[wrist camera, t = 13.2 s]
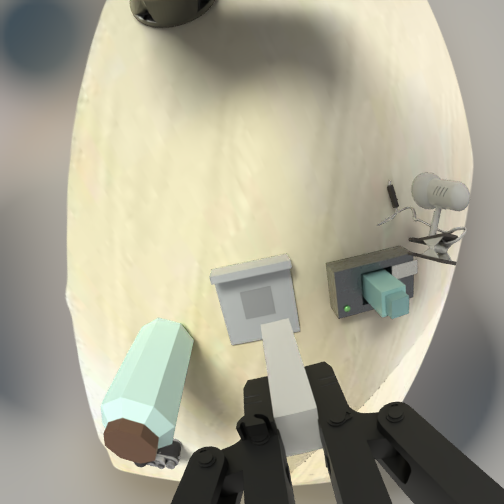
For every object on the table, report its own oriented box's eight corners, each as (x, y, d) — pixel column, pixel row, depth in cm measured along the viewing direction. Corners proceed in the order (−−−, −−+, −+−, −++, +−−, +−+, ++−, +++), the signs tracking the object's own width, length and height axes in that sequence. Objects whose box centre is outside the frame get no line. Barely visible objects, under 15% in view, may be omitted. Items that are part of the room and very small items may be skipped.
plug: (355, 269, 48) (387, 298, 36) (377, 263, 48) (412, 290, 36) (357, 291, 49) (387, 324, 37) (378, 285, 49) (412, 315, 37)
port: (325, 263, 48) (334, 273, 43) (403, 244, 47) (417, 252, 43) (330, 306, 50) (339, 319, 45) (404, 286, 50) (417, 296, 45)
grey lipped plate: (211, 269, 47) (209, 277, 43) (286, 253, 47) (290, 260, 43) (231, 343, 51) (231, 354, 47) (299, 329, 51) (303, 340, 47)
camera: (184, 428, 57) (179, 462, 47) (182, 448, 59) (177, 480, 49) (118, 412, 55) (105, 443, 46) (120, 433, 57) (109, 462, 48)
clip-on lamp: (397, 241, 47) (462, 276, 30) (365, 235, 47) (426, 270, 29) (410, 174, 44) (483, 182, 27) (379, 165, 44) (448, 167, 26)
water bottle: (149, 362, 51) (110, 466, 27) (134, 316, 49) (74, 415, 25) (200, 359, 51) (183, 472, 27) (188, 311, 49) (154, 421, 25)
